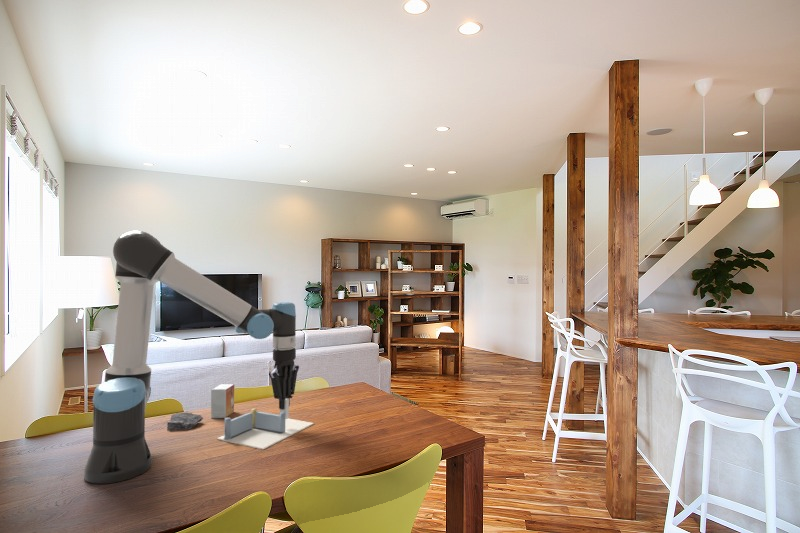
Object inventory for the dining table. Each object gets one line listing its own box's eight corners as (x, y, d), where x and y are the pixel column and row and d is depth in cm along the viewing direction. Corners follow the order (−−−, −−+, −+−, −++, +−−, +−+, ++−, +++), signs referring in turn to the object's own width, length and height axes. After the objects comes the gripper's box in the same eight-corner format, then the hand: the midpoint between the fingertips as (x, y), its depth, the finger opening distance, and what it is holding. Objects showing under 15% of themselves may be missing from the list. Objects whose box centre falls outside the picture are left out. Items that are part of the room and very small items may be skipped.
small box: (225, 418, 160) (226, 389, 160) (210, 418, 160) (210, 389, 160) (234, 411, 168) (234, 383, 168) (219, 411, 168) (220, 383, 168)
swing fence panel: (250, 426, 149) (250, 408, 149) (254, 425, 151) (254, 407, 151) (282, 432, 144) (283, 414, 144) (286, 430, 145) (286, 412, 145)
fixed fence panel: (227, 441, 138) (227, 419, 138) (223, 440, 139) (223, 418, 139) (252, 430, 148) (252, 410, 148) (248, 429, 149) (248, 409, 149)
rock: (195, 430, 148) (195, 418, 148) (164, 431, 148) (164, 418, 148) (203, 422, 156) (203, 411, 156) (173, 423, 155) (174, 411, 155)
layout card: (263, 449, 132) (263, 448, 132) (216, 439, 140) (216, 437, 140) (313, 424, 154) (313, 422, 154) (271, 416, 162) (271, 415, 162)
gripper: (279, 352, 142) (280, 425, 142) (305, 346, 154) (305, 413, 154) (262, 350, 145) (262, 422, 145) (288, 344, 157) (288, 410, 157)
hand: (284, 417), depth 149 cm, fingers closed
